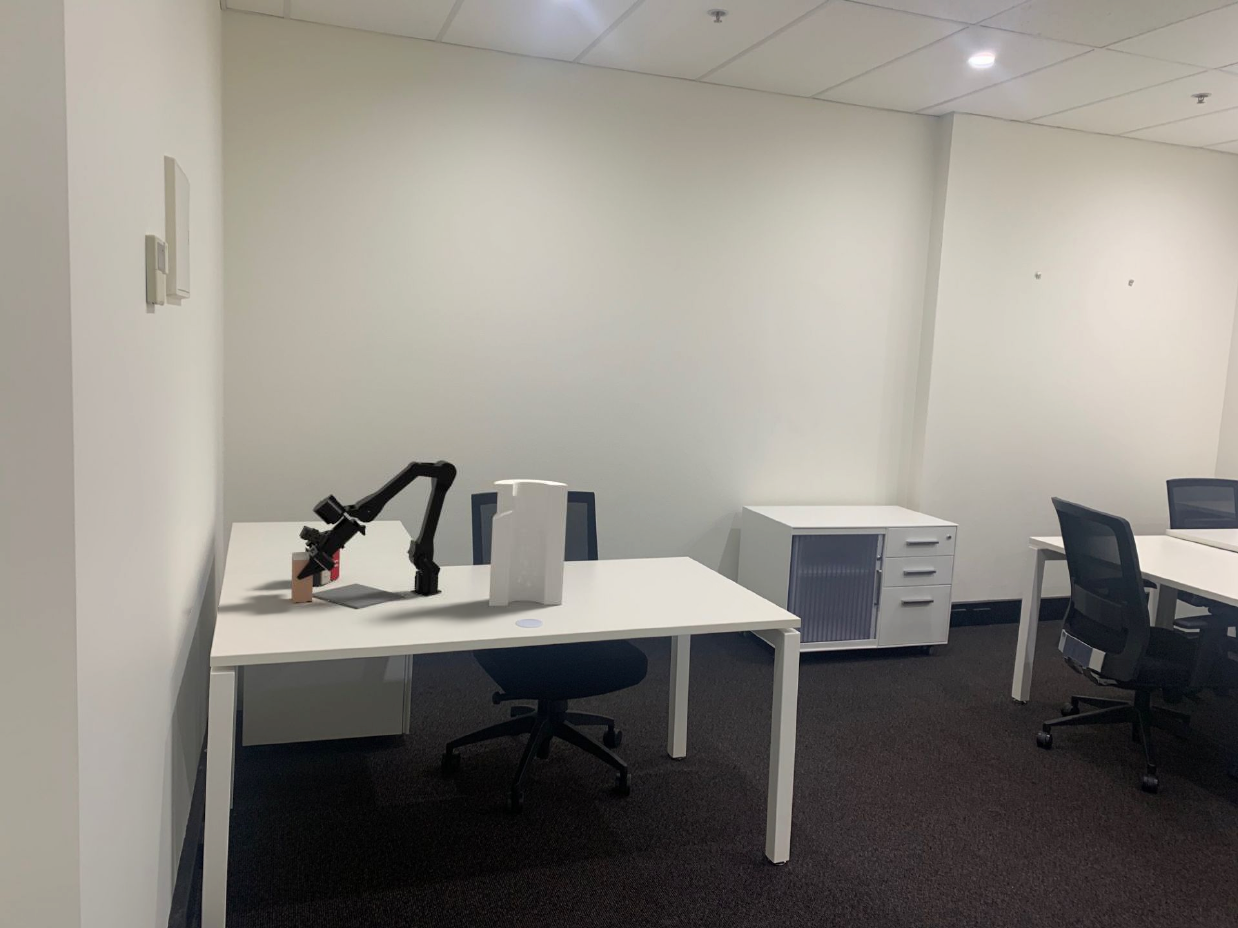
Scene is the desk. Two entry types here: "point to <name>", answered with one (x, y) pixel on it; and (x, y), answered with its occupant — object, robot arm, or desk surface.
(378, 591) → the grey mat
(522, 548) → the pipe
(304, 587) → the peach block
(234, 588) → the desk surface
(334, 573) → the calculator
